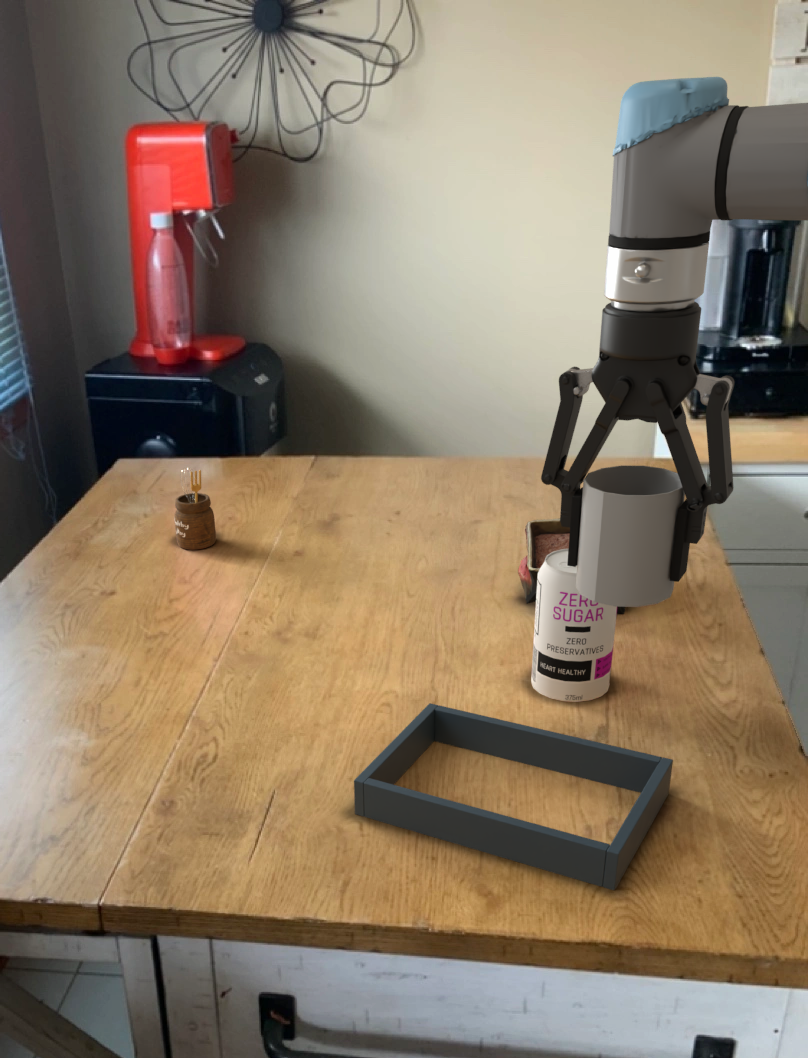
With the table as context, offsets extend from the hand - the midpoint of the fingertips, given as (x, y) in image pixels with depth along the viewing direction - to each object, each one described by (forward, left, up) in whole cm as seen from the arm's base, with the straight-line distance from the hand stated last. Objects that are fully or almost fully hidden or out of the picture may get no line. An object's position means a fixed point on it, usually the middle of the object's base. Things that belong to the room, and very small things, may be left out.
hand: (626, 568), depth 101 cm
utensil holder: (+72, -32, -20) cm, 81 cm away
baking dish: (+16, -37, -20) cm, 45 cm away
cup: (0, 0, -2) cm, 2 cm away
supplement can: (+8, -12, -20) cm, 25 cm away
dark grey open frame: (+5, +13, -20) cm, 24 cm away
